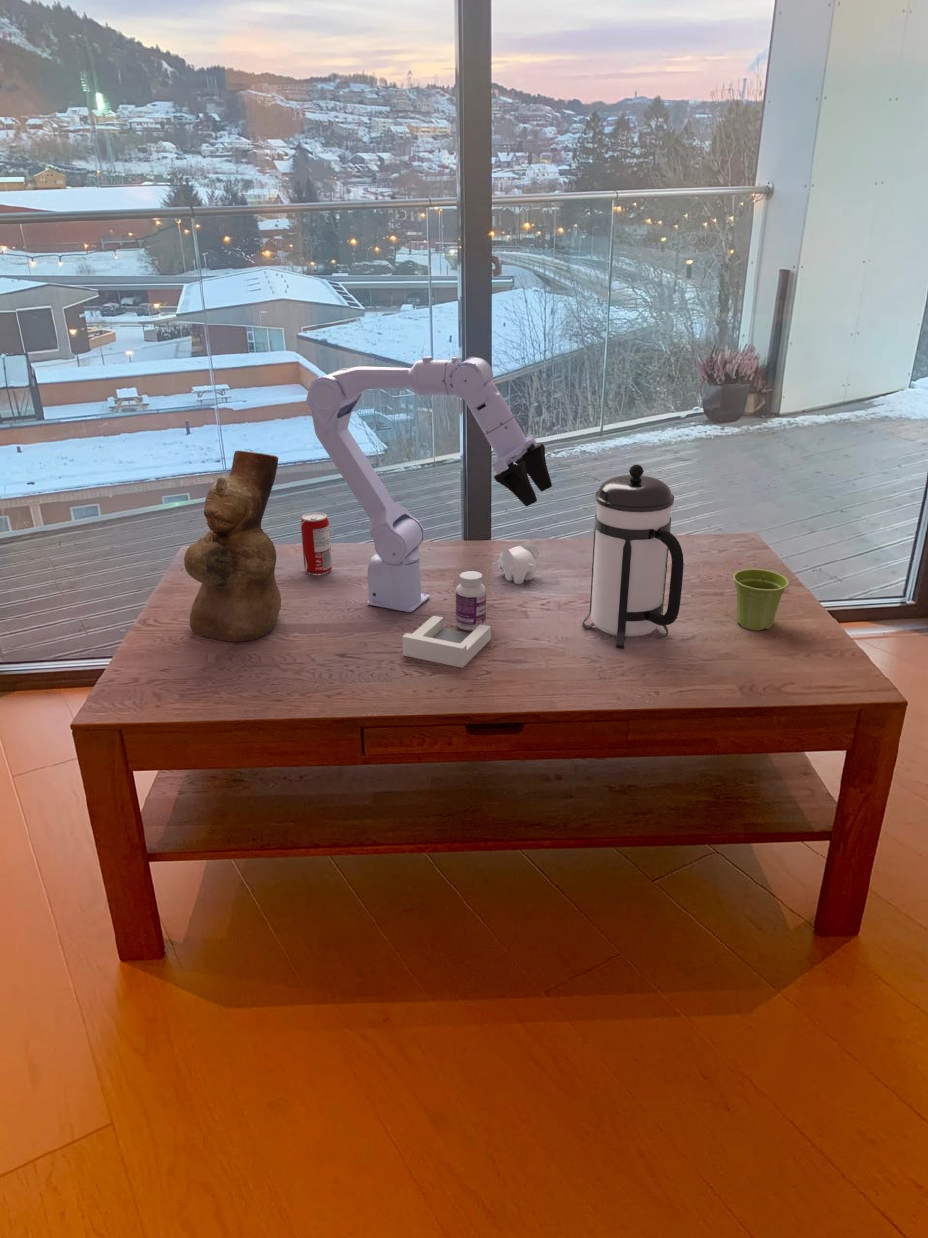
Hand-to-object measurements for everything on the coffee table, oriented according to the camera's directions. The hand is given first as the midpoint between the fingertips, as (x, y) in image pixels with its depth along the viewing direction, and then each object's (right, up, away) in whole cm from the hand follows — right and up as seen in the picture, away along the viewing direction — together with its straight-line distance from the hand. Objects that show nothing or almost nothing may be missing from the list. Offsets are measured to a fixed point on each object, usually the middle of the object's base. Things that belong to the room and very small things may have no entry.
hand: (539, 496), depth 161 cm
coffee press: (+16, -24, +4) cm, 29 cm away
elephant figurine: (-3, -13, +28) cm, 31 cm away
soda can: (-43, -11, +32) cm, 54 cm away
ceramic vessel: (-52, -21, +11) cm, 57 cm away
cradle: (-15, -25, +1) cm, 30 cm away
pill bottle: (-12, -22, +8) cm, 26 cm away
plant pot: (+39, -22, +8) cm, 45 cm away
